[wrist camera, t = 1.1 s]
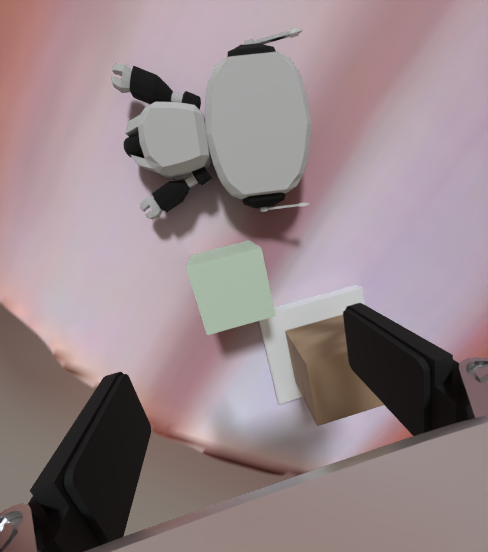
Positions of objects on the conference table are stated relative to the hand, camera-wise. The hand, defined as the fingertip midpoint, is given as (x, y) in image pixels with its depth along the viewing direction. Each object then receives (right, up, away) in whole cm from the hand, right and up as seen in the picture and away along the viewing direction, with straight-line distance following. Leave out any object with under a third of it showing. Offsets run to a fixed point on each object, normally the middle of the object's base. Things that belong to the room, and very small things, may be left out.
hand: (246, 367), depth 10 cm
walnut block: (+9, -5, +17) cm, 20 cm away
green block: (-2, +4, +15) cm, 15 cm away
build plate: (+8, -4, +18) cm, 20 cm away
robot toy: (-3, +16, +12) cm, 20 cm away
